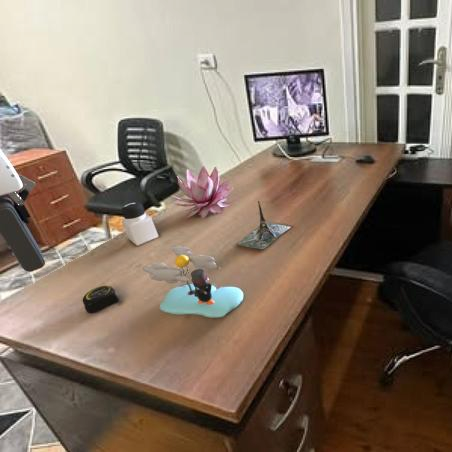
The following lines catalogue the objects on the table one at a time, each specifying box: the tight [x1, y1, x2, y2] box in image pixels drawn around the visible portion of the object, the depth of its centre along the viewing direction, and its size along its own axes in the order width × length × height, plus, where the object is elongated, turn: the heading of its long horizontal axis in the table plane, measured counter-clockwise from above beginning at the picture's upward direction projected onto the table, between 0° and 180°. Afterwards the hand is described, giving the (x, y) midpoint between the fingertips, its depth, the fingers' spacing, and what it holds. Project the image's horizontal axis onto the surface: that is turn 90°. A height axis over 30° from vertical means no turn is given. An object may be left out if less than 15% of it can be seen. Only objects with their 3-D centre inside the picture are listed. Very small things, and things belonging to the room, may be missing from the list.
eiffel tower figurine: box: [236, 199, 292, 250], centre depth 106 cm, size 15×10×13 cm
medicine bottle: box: [120, 202, 159, 247], centre depth 112 cm, size 7×7×12 cm
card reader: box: [0, 196, 46, 273], centre depth 75 cm, size 9×4×15 cm, turn 43°
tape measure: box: [82, 285, 120, 315], centre depth 86 cm, size 7×7×4 cm
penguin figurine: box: [142, 245, 244, 319], centre depth 80 cm, size 20×11×15 cm, turn 75°
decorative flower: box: [170, 165, 235, 220], centre depth 125 cm, size 21×21×15 cm
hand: (11, 225), depth 74 cm, fingers closed on card reader, 4 cm apart
